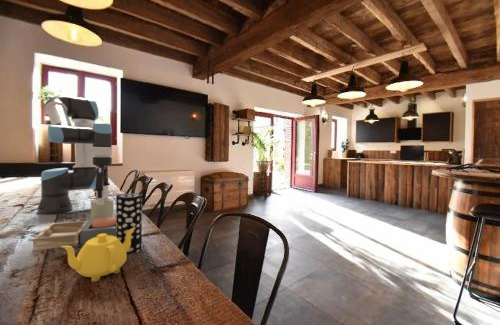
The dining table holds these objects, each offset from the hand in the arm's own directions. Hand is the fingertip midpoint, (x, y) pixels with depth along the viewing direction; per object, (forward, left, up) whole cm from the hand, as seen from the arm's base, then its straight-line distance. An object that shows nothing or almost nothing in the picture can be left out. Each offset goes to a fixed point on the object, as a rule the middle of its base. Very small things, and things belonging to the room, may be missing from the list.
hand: (102, 201), depth 111 cm
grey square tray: (+16, +3, -11) cm, 19 cm away
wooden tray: (+15, -11, -11) cm, 21 cm away
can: (0, 0, -11) cm, 11 cm away
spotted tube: (+34, +13, -11) cm, 38 cm away
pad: (+16, +3, -7) cm, 17 cm away
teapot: (+49, +7, -11) cm, 50 cm away
